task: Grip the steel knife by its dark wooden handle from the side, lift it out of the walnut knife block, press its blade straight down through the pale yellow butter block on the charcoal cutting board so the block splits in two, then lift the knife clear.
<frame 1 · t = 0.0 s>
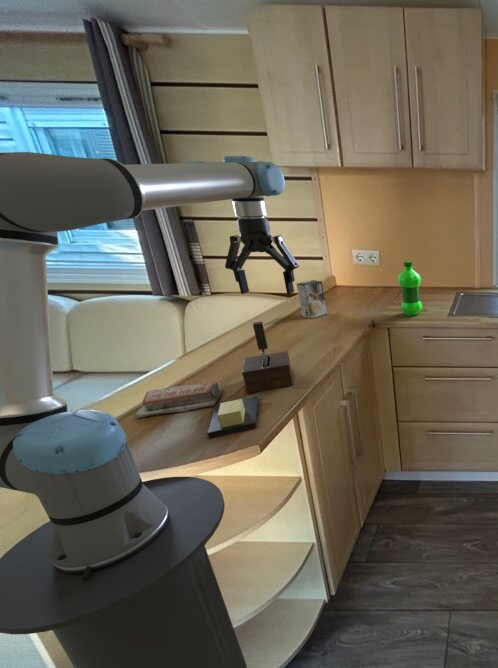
hand: (268, 292, 119), 28 cm above the table, tool pointing down, fingers open, 13 cm apart
knife block: (270, 381, 127), on the table
packaged product: (182, 405, 114), on the table
coffee box: (315, 315, 193), on the table
plastic bottle: (412, 314, 195), on the table
cutting board: (236, 417, 107), on the table
knife: (264, 353, 124), in the knife block
butter left: (228, 420, 103), point 1 cm above the table, touching butter right, cutting board
butter right: (238, 417, 104), point 1 cm above the table, touching butter left, cutting board
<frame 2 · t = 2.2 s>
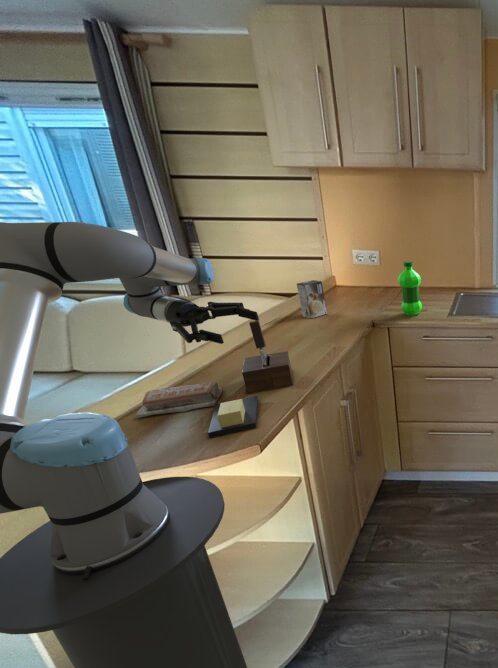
hand: (240, 327, 116), 20 cm above the table, tool horizontal, fingers open, 12 cm apart
knife: (262, 352, 124), in the knife block, tilted 6°, touching gripper
everything else where it was.
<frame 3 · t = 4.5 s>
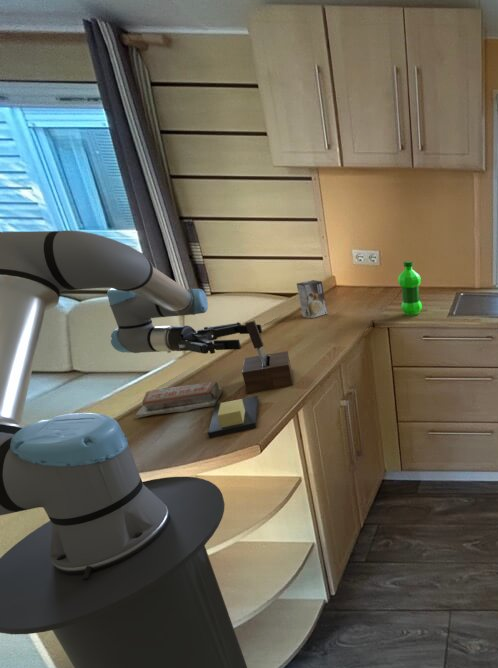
hand: (250, 336, 122), 15 cm above the table, tool horizontal, fingers open, 13 cm apart
knife: (261, 351, 124), in the knife block, tilted 11°
everything else where it was.
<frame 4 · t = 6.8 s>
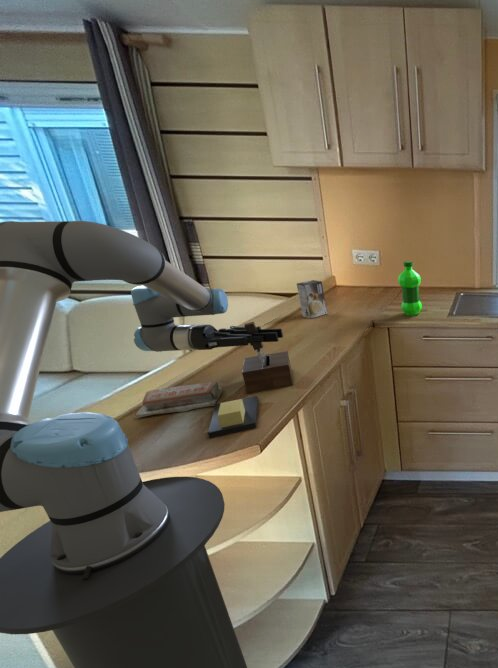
hand: (279, 335, 122), 15 cm above the table, tool horizontal, fingers closed on knife, 3 cm apart
knife: (261, 353, 124), in the knife block, tilted 9°, touching gripper
everything else where it was.
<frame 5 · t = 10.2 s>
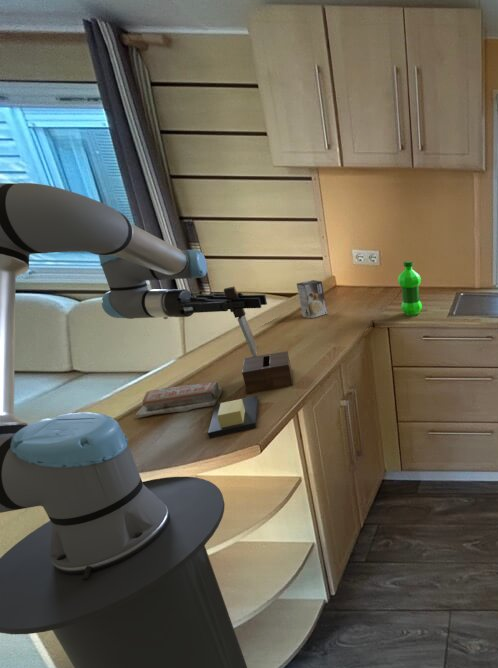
hand: (262, 301, 112), 28 cm above the table, tool horizontal, fingers closed on knife, 3 cm apart
knife: (242, 321, 113), point 22 cm above the table, tilted 9°, touching gripper
everything else where it was.
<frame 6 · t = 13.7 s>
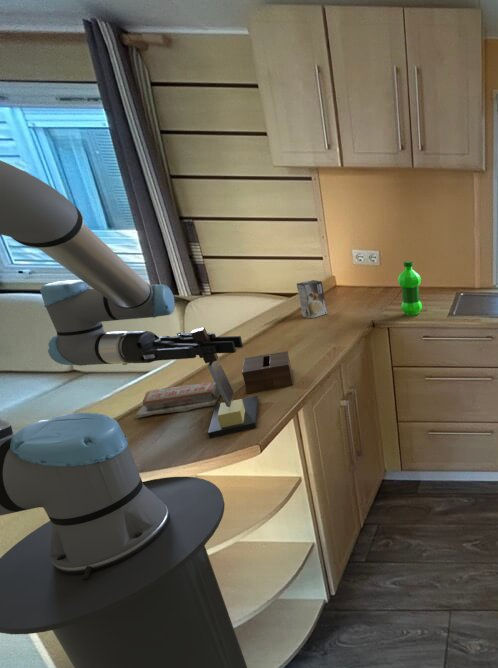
hand: (237, 344, 97), 22 cm above the table, tool horizontal, fingers closed on knife, 3 cm apart
knife: (215, 366, 98), point 16 cm above the table, tilted 8°, touching gripper
everything else where it was.
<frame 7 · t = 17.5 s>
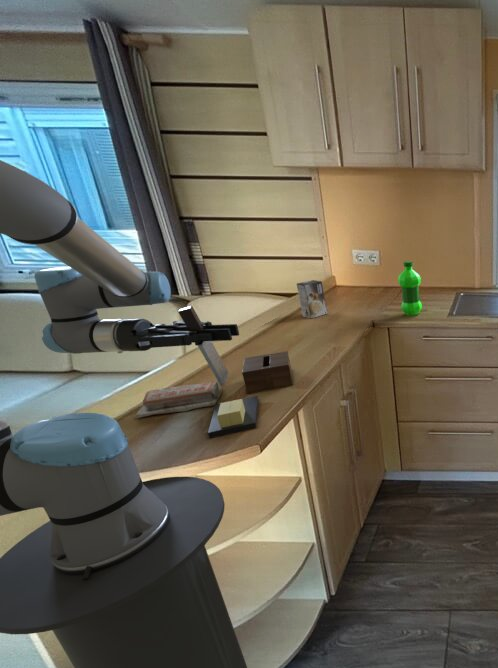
hand: (233, 332, 96), 25 cm above the table, tool horizontal, fingers closed on knife, 3 cm apart
knife: (206, 345, 96), point 22 cm above the table, tilted 12°, touching gripper
butter left: (227, 420, 103), point 1 cm above the table, touching cutting board
butter right: (238, 417, 104), point 1 cm above the table, touching cutting board
everything else where it was.
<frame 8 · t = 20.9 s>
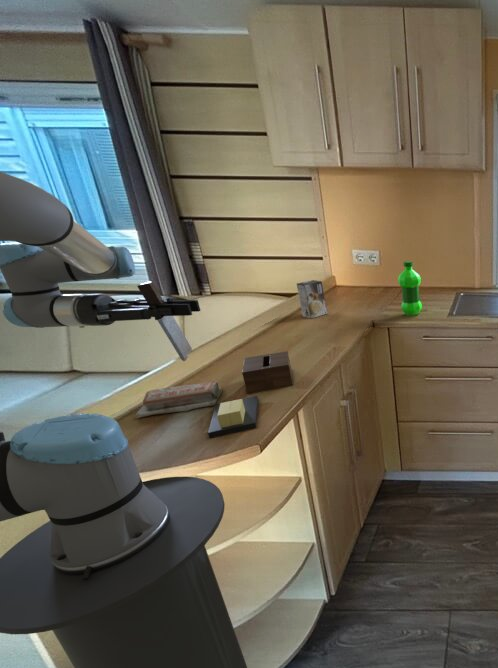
hand: (193, 307, 98), 30 cm above the table, tool horizontal, fingers closed on knife, 3 cm apart
knife: (167, 321, 98), point 27 cm above the table, tilted 12°, touching gripper
everything else where it was.
at the end: butter left touching cutting board; butter left inside the target area on the cutting board (3.7 cm from its centre), point 1.5 cm above the cutting board's base; butter right inside the target area on the cutting board (3.7 cm from its centre), point 1.5 cm above the cutting board's base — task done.
